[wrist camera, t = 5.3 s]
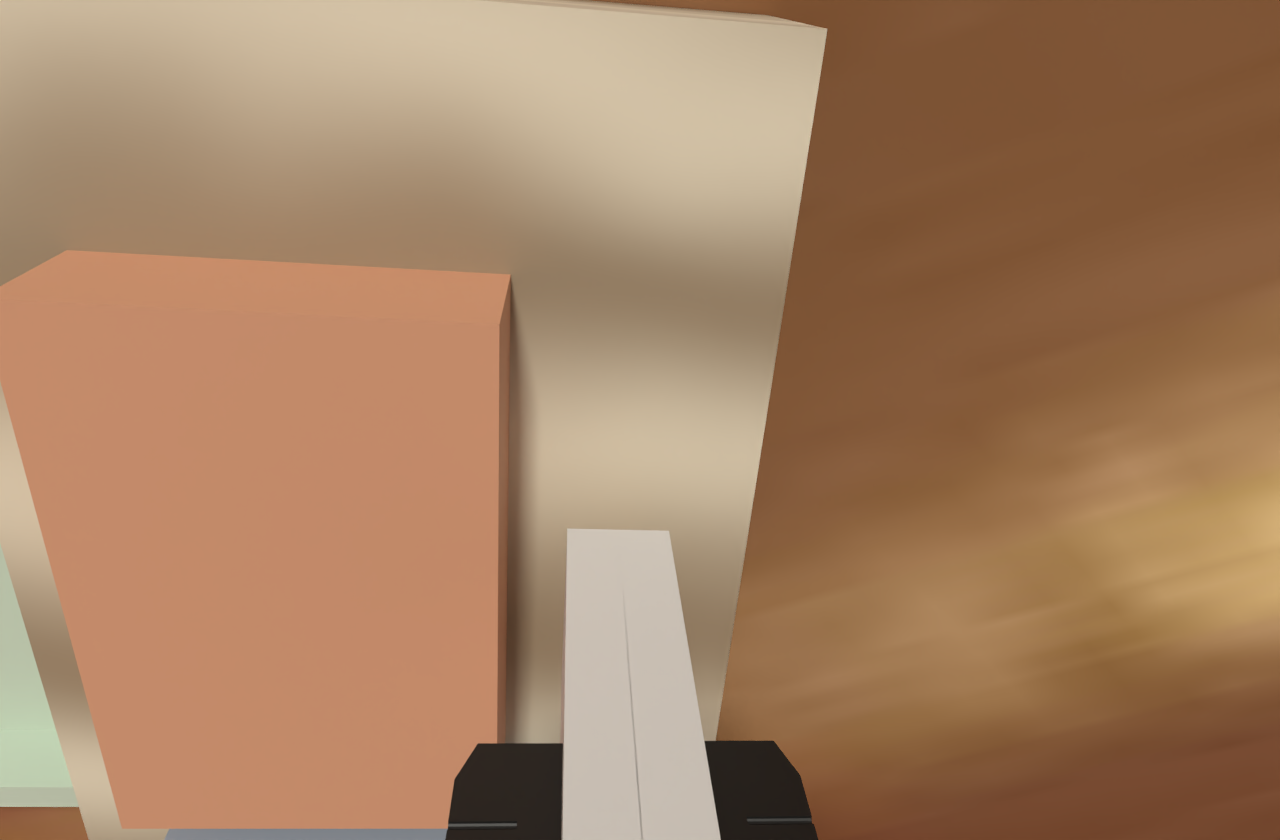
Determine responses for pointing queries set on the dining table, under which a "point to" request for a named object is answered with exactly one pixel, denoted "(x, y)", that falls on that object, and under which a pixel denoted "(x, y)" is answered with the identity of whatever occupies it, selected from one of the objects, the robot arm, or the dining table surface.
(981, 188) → the dining table surface
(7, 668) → the tray
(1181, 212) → the dining table surface
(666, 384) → the beige flat box
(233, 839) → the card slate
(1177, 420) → the dining table surface
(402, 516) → the orange flat block
